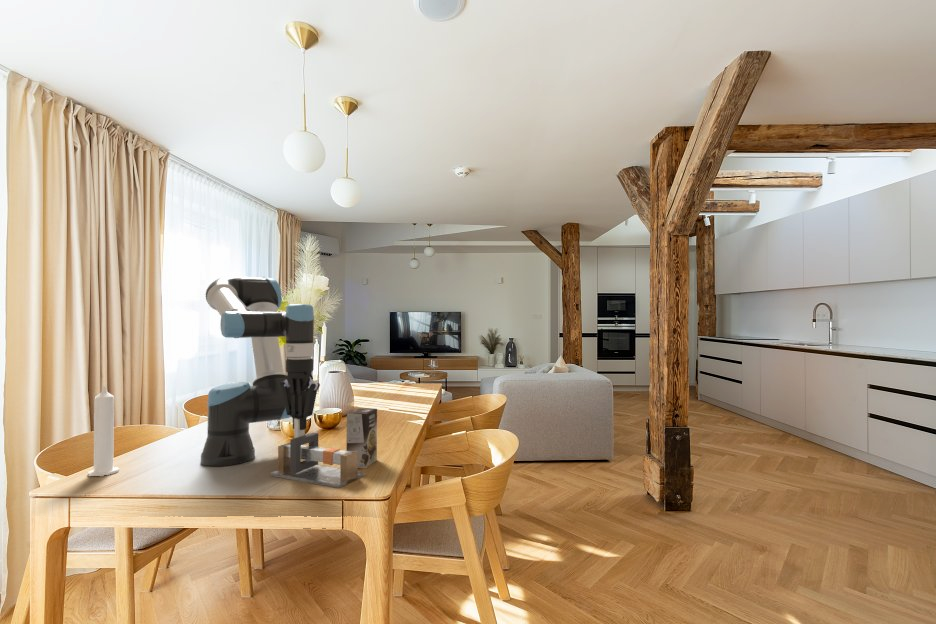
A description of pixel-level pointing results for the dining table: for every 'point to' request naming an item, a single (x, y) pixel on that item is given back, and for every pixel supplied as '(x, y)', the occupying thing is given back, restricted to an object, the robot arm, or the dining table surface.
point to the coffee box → (363, 435)
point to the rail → (320, 473)
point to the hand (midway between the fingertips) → (299, 440)
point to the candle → (103, 434)
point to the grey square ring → (296, 452)
